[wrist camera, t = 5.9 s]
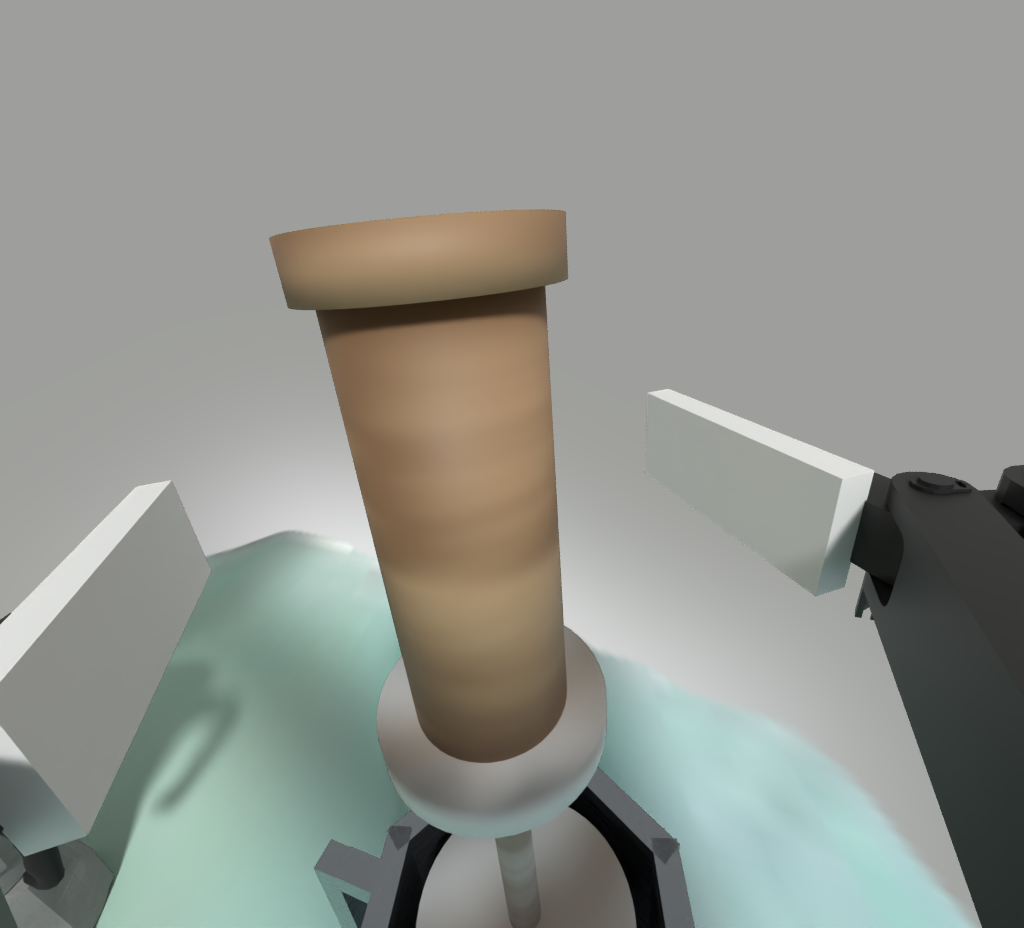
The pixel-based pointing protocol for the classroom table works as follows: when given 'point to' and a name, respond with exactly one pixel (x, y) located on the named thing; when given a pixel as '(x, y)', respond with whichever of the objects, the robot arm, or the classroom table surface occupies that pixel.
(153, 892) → the classroom table surface
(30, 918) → the coffeepot
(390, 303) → the plunger
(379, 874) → the press carafe
